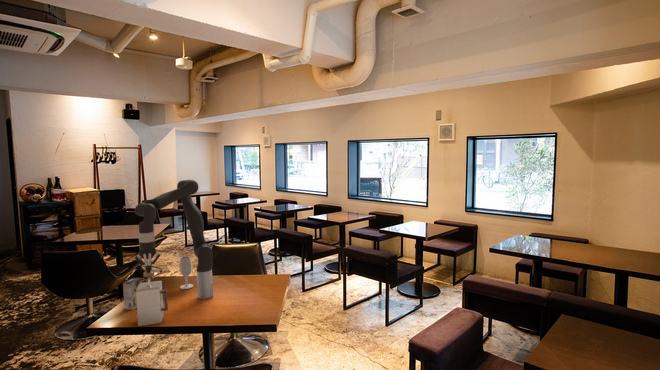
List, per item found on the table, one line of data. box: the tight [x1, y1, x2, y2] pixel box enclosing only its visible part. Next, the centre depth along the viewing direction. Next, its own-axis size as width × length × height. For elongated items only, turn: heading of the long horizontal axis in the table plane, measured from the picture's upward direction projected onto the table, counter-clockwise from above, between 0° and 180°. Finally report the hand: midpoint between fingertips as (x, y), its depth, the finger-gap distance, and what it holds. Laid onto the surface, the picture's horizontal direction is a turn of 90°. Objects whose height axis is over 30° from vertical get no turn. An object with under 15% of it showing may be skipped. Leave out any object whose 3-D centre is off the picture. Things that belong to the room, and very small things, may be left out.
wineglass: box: [178, 255, 194, 290], centre depth 241 cm, size 9×9×21 cm
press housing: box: [136, 280, 169, 327], centre depth 193 cm, size 14×11×20 cm
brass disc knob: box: [143, 270, 155, 286], centre depth 192 cm, size 8×8×20 cm
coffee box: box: [122, 277, 144, 310], centre depth 211 cm, size 9×6×16 cm
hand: (148, 272), depth 191 cm, fingers closed
